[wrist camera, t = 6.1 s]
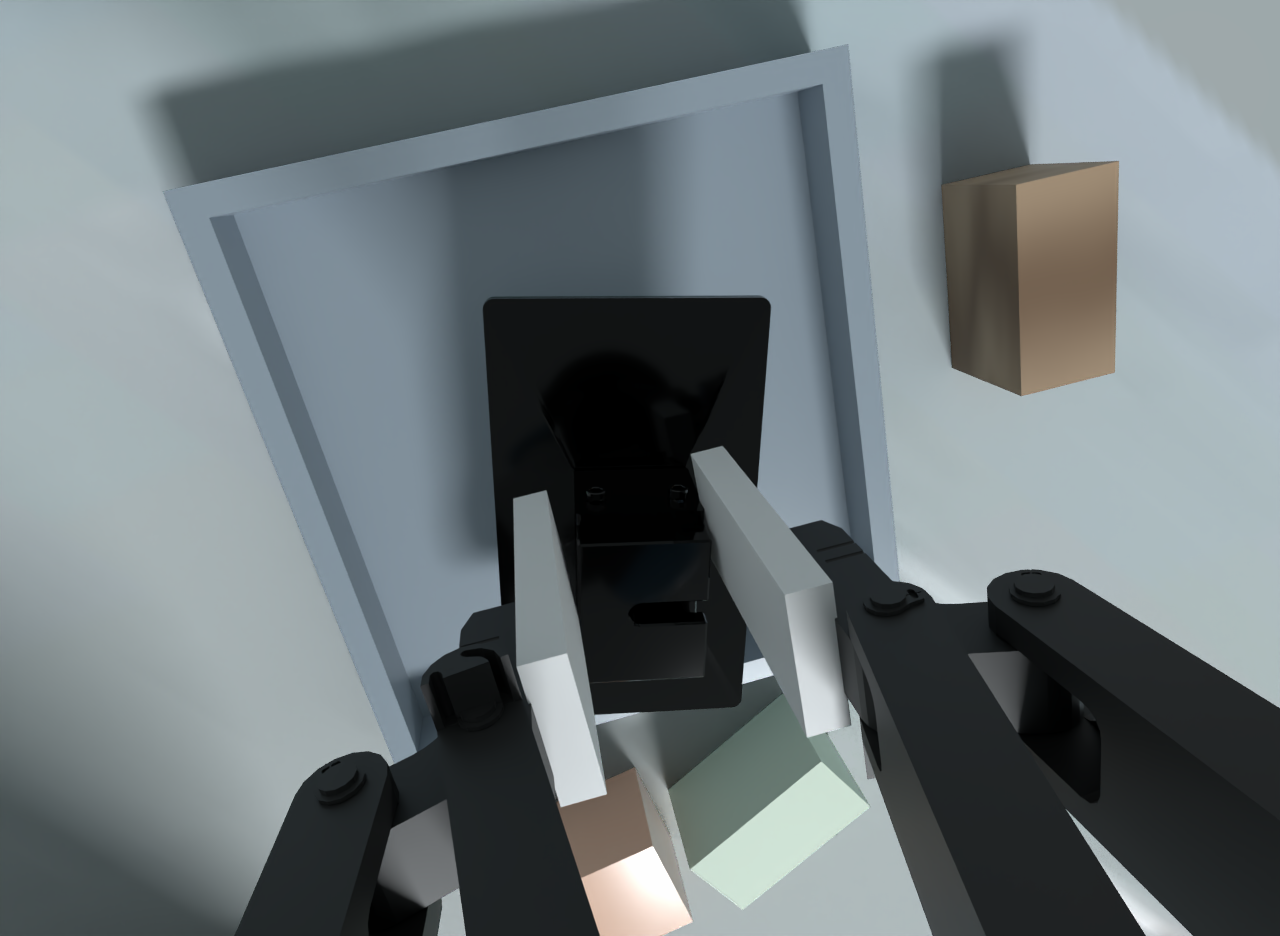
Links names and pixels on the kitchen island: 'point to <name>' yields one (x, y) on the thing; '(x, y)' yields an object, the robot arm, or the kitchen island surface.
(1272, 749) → the robot arm
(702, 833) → the brick sage
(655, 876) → the cube terracotta
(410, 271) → the tray
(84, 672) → the kitchen island surface
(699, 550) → the build plate
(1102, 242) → the brick walnut
